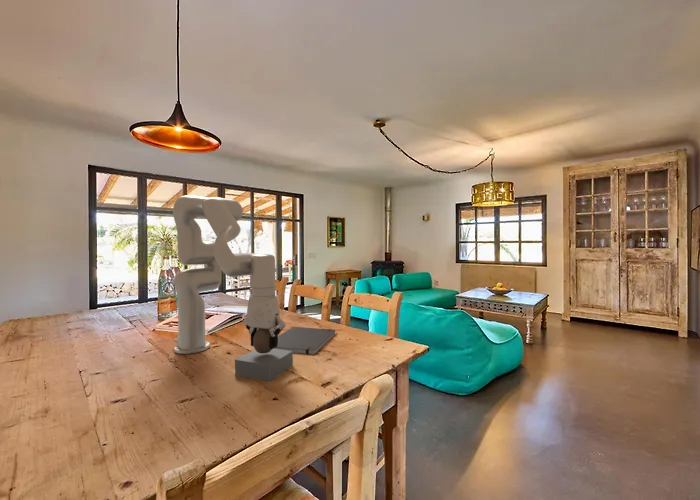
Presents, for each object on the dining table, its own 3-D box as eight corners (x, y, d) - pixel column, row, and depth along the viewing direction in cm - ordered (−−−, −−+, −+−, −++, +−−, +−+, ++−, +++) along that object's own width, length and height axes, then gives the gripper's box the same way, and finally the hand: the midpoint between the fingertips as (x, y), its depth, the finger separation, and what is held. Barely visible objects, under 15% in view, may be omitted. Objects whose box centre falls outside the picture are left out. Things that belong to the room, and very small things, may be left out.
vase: (269, 355, 99) (268, 328, 99) (249, 354, 100) (248, 327, 100) (278, 348, 106) (278, 322, 105) (259, 347, 107) (259, 321, 107)
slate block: (235, 375, 99) (234, 359, 99) (261, 360, 112) (261, 346, 111) (269, 381, 95) (269, 365, 94) (292, 365, 107) (292, 351, 107)
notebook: (293, 331, 150) (262, 351, 123) (293, 326, 150) (262, 345, 122) (336, 334, 144) (314, 356, 117) (336, 329, 144) (314, 349, 117)
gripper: (234, 292, 102) (235, 346, 103) (279, 295, 96) (279, 353, 96) (249, 289, 109) (250, 339, 110) (292, 292, 103) (293, 346, 103)
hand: (264, 345), depth 103 cm, fingers closed on vase, 6 cm apart
